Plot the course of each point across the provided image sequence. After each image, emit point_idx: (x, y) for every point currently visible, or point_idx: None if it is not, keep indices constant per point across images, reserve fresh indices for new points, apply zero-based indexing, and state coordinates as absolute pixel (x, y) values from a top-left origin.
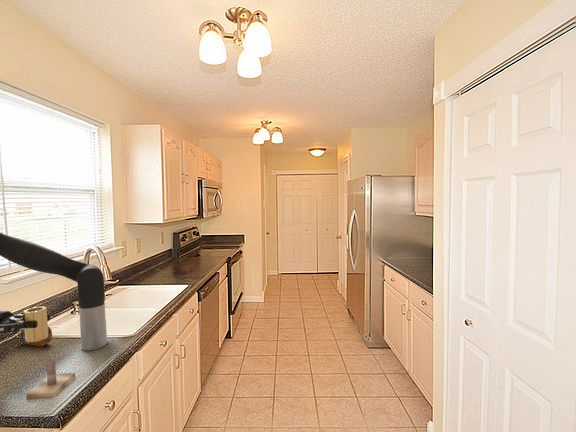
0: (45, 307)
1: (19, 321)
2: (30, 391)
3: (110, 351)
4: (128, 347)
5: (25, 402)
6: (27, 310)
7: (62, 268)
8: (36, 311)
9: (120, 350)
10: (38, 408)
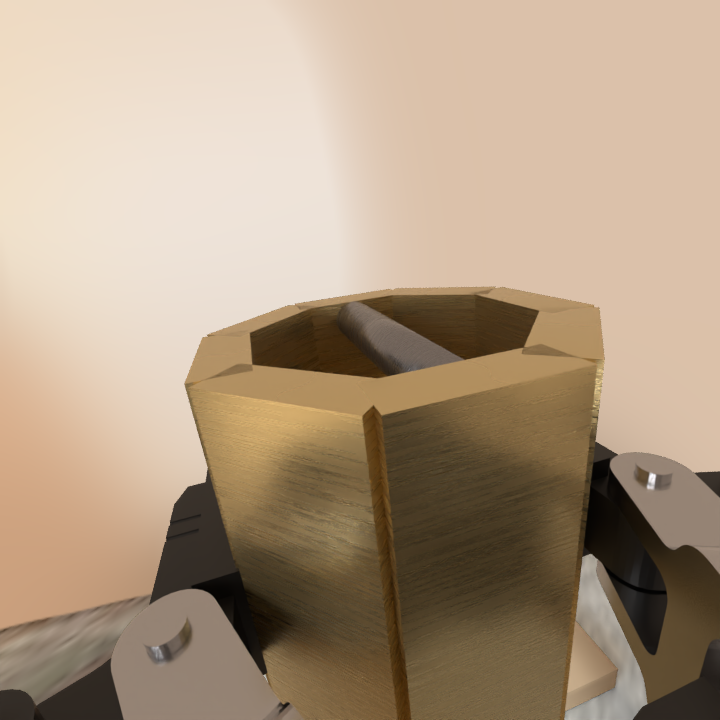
0: (271, 312)
1: (702, 522)
2: (591, 674)
3: (60, 690)
4: (48, 622)
5: (625, 659)
6: (489, 362)
7: None
8: (452, 287)
9: (74, 637)
10: (589, 560)
